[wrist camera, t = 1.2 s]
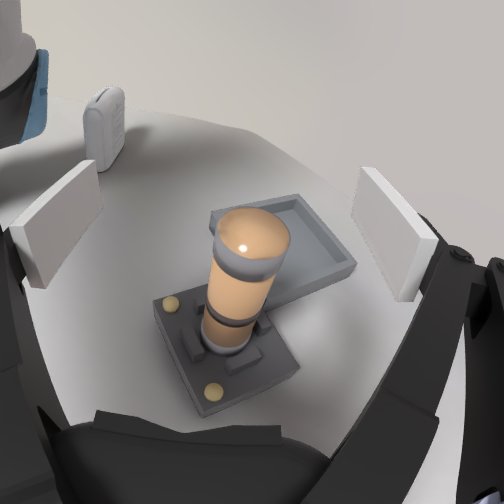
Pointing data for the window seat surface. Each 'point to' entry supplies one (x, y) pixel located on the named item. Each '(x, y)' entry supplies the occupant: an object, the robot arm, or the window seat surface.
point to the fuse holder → (214, 367)
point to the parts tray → (301, 251)
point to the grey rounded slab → (104, 126)
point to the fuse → (241, 276)
